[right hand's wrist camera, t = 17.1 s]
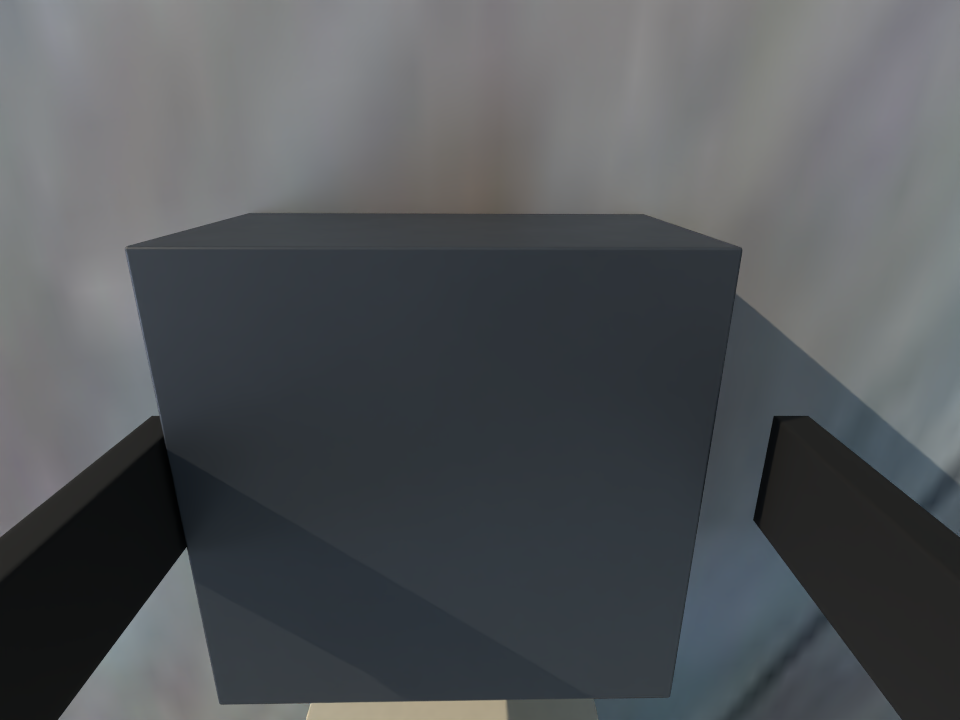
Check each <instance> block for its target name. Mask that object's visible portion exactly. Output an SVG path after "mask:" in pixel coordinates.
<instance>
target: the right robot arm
mask: <svg viewBox="0 0 960 720" xmlns="http://www.w3.org/2000/svg"><path fill="white" fill-rule="evenodd" d="M753 520H754V522H755V523H756V524H757V526H758V527H759V528H760V530H761V531H762V532H763V534H764V535H765V536H766V538H767V539H768V540H769V542H770V543H771V544H772V546H773V547H774V548H775V550H776V551H777V552H778V554H779V555H780V556H781V558H782V559H783V560H784V562H785V563H786V564H787V566H788V567H789V569H790V570H791V571H792V573H793V574H794V575H795V577H796V578H797V579H798V581H799V582H800V583H801V585H802V586H803V587H804V589H805V590H806V591H807V593H808V594H809V595H810V597H811V598H812V599H813V601H814V602H815V603H816V605H817V606H818V607H819V609H820V610H821V611H822V613H823V614H824V615H825V617H826V618H827V620H828V621H829V622H830V624H831V625H832V626H833V628H834V629H835V630H836V632H837V633H838V634H839V636H840V637H841V638H842V640H843V641H844V642H845V644H846V645H847V646H848V648H849V649H850V650H851V652H852V653H853V654H854V656H855V657H856V658H857V660H858V661H859V662H860V664H861V665H862V666H863V668H864V669H865V671H866V672H867V673H868V675H869V676H870V677H871V679H872V680H873V681H874V683H875V684H876V685H877V687H878V688H879V689H880V691H881V692H882V693H883V695H884V696H885V697H886V699H887V700H888V701H889V703H890V704H891V705H892V707H893V708H894V709H895V711H896V712H897V713H898V715H899V716H900V717H901V719H902V720H960V537H958V536H957V535H956V534H955V533H953V532H952V531H951V530H950V529H948V528H947V527H946V526H945V525H943V524H942V523H941V522H940V521H939V520H937V519H936V518H935V517H934V516H932V515H931V514H930V513H929V512H927V511H926V510H925V509H924V508H922V507H921V506H920V505H919V504H917V503H916V502H915V501H914V500H912V499H911V498H910V497H909V496H907V495H906V494H905V493H904V492H902V491H901V490H900V489H899V488H897V487H896V486H895V485H894V484H892V483H891V482H890V481H889V480H887V479H886V478H885V477H884V476H882V475H881V474H880V473H879V472H877V471H876V470H875V469H874V468H872V467H871V466H870V465H869V464H867V463H866V462H865V461H864V460H862V459H861V458H860V457H859V456H857V455H856V454H855V453H854V452H852V451H851V450H850V449H849V448H847V447H846V446H845V445H844V444H842V443H841V442H840V441H839V440H837V439H836V438H835V437H834V436H832V435H831V434H830V433H829V432H827V431H826V430H825V429H824V428H822V427H821V426H820V425H819V424H817V423H816V422H815V421H814V420H812V419H811V418H810V417H809V416H774V418H773V423H772V428H771V433H770V438H769V443H768V448H767V453H766V458H765V463H764V468H763V473H762V479H761V484H760V489H759V494H758V499H757V504H756V509H755V514H754V519H753ZM186 547H187V545H186V541H185V536H184V531H183V526H182V521H181V517H180V512H179V507H178V502H177V497H176V492H175V488H174V483H173V478H172V473H171V468H170V464H169V459H168V454H167V449H166V444H165V440H164V435H163V430H162V425H161V420H160V416H151V417H150V418H149V419H148V420H146V421H145V422H144V423H143V424H141V425H140V426H139V427H138V428H136V429H135V430H134V431H133V432H131V433H130V434H129V435H128V436H126V437H125V438H124V439H123V440H121V441H120V442H119V443H118V444H116V445H115V446H114V447H113V448H111V449H110V450H109V451H108V452H106V453H105V454H104V455H103V456H101V457H100V458H99V459H98V460H96V461H95V462H94V463H93V464H91V465H90V466H89V467H88V468H86V469H85V470H84V471H83V472H81V473H80V474H79V475H78V476H76V477H75V478H74V479H73V480H71V481H70V482H69V483H68V484H66V485H65V486H64V487H63V488H61V489H60V490H59V491H58V492H56V493H55V494H54V495H53V496H51V497H50V498H49V499H48V500H46V501H45V502H44V503H43V504H41V505H40V506H39V507H38V508H36V509H35V510H34V511H33V512H31V513H30V514H29V515H28V516H26V517H25V518H24V519H23V520H21V521H20V522H19V523H18V524H17V525H15V526H14V527H13V528H12V529H10V530H9V531H8V532H7V533H5V534H4V535H3V536H2V537H0V720H58V719H59V717H60V716H61V715H62V713H63V712H64V711H65V709H66V708H67V707H68V705H69V704H70V703H71V701H72V700H73V699H74V697H75V696H76V695H77V693H78V692H79V691H80V689H81V688H82V687H83V685H84V684H85V683H86V681H87V680H88V679H89V677H90V676H91V675H92V673H93V672H94V671H95V669H96V668H97V666H98V665H99V664H100V662H101V661H102V660H103V658H104V657H105V656H106V654H107V653H108V652H109V650H110V649H111V648H112V646H113V645H114V644H115V642H116V641H117V640H118V638H119V637H120V636H121V634H122V633H123V632H124V630H125V629H126V628H127V626H128V625H129V624H130V622H131V621H132V620H133V618H134V617H135V615H136V614H137V613H138V611H139V610H140V609H141V607H142V606H143V605H144V603H145V602H146V601H147V599H148V598H149V597H150V595H151V594H152V593H153V591H154V590H155V589H156V587H157V586H158V585H159V583H160V582H161V581H162V579H163V578H164V577H165V575H166V574H167V573H168V571H169V570H170V569H171V567H172V566H173V564H174V563H175V562H176V560H177V559H178V558H179V556H180V555H181V554H182V552H183V551H184V550H185V548H186Z"/></svg>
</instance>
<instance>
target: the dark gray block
mask: <svg viewBox="0 0 960 720" xmlns="http://www.w3.org/2000/svg"><path fill="white" fill-rule="evenodd" d="M125 252H126V257H127V262H128V266H129V271H130V276H131V281H132V286H133V290H134V295H135V300H136V305H137V310H138V314H139V319H140V324H141V329H142V334H143V339H144V343H145V348H146V353H147V358H148V363H149V367H150V372H151V377H152V382H153V387H154V391H155V396H156V401H157V406H158V411H159V415H160V420H161V425H162V430H163V435H164V440H165V444H166V449H167V454H168V459H169V464H170V468H171V473H172V478H173V483H174V488H175V492H176V497H177V502H178V507H179V512H180V517H181V521H182V526H183V531H184V536H185V541H186V545H187V550H188V555H189V560H190V565H191V569H192V574H193V579H194V584H195V589H196V593H197V598H198V603H199V608H200V613H201V618H202V622H203V627H204V632H205V637H206V642H207V646H208V651H209V656H210V661H211V666H212V670H213V675H214V680H215V685H216V690H217V694H218V699H219V703H220V704H221V705H222V704H287V703H351V702H415V701H479V700H543V699H607V698H668V697H670V694H671V687H672V681H673V675H674V669H675V663H676V656H677V650H678V644H679V638H680V632H681V626H682V619H683V613H684V607H685V601H686V595H687V589H688V582H689V576H690V570H691V564H692V558H693V552H694V545H695V539H696V533H697V527H698V521H699V515H700V508H701V502H702V496H703V490H704V484H705V478H706V471H707V465H708V459H709V453H710V447H711V440H712V434H713V428H714V422H715V416H716V410H717V403H718V397H719V391H720V385H721V379H722V373H723V366H724V360H725V354H726V348H727V342H728V336H729V329H730V323H731V317H732V311H733V305H734V299H735V292H736V286H737V280H738V274H739V268H740V262H741V255H742V248H741V247H738V246H735V245H732V244H729V243H726V242H723V241H720V240H717V239H714V238H712V237H709V236H706V235H703V234H700V233H697V232H694V231H691V230H688V229H685V228H682V227H679V226H676V225H673V224H670V223H667V222H665V221H662V220H659V219H656V218H653V217H650V216H647V215H644V214H311V213H248V214H245V215H241V216H237V217H234V218H230V219H226V220H222V221H219V222H215V223H211V224H208V225H204V226H200V227H197V228H193V229H189V230H185V231H182V232H178V233H174V234H171V235H167V236H163V237H159V238H156V239H152V240H148V241H145V242H141V243H137V244H134V245H130V246H127V247H125Z"/></svg>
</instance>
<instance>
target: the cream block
mask: <svg viewBox="0 0 960 720" xmlns="http://www.w3.org/2000/svg"><path fill="white" fill-rule="evenodd" d="M306 720H599V719H598V715H597V711H596V706H595V702H594V699H543V700H479V701H415V702H351V703H311V704H310V708H309V711H308V715H307V718H306Z"/></svg>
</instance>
